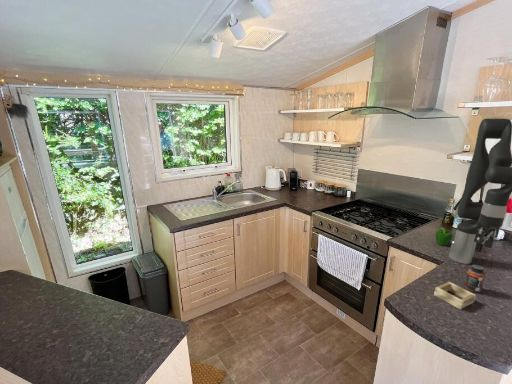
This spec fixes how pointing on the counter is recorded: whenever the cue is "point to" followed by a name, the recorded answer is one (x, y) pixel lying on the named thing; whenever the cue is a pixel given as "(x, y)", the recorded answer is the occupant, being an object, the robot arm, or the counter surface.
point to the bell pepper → (443, 237)
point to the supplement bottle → (475, 279)
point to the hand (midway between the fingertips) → (483, 249)
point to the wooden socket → (459, 303)
